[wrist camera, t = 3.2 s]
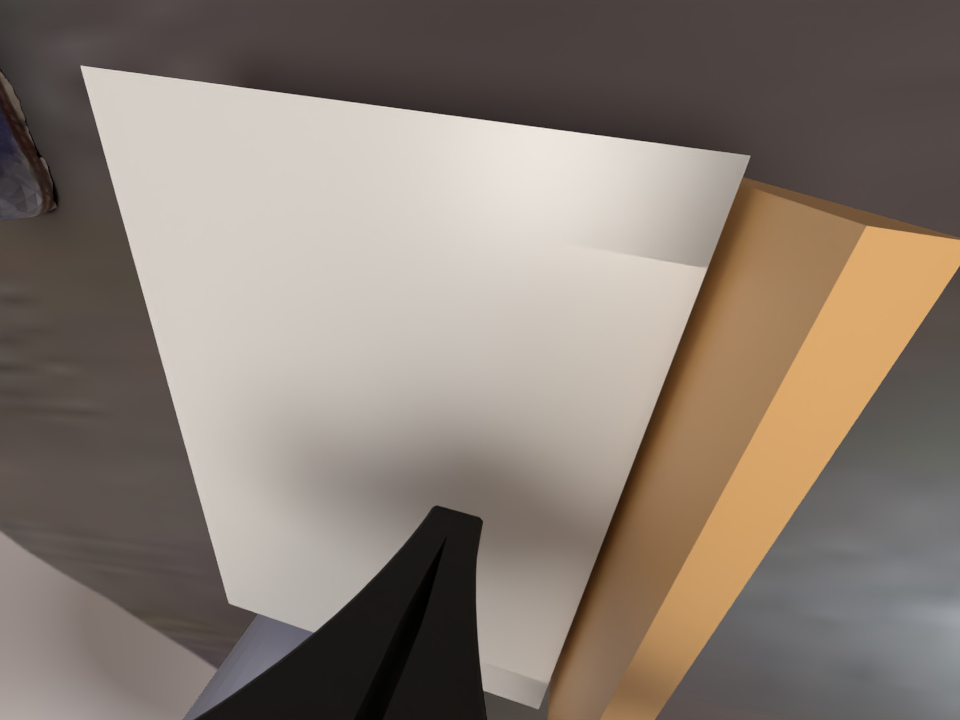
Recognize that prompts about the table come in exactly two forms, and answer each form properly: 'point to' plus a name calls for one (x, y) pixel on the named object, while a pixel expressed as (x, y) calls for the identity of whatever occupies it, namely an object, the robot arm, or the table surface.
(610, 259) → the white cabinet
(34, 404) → the table surface
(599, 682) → the door
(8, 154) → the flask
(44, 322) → the table surface
